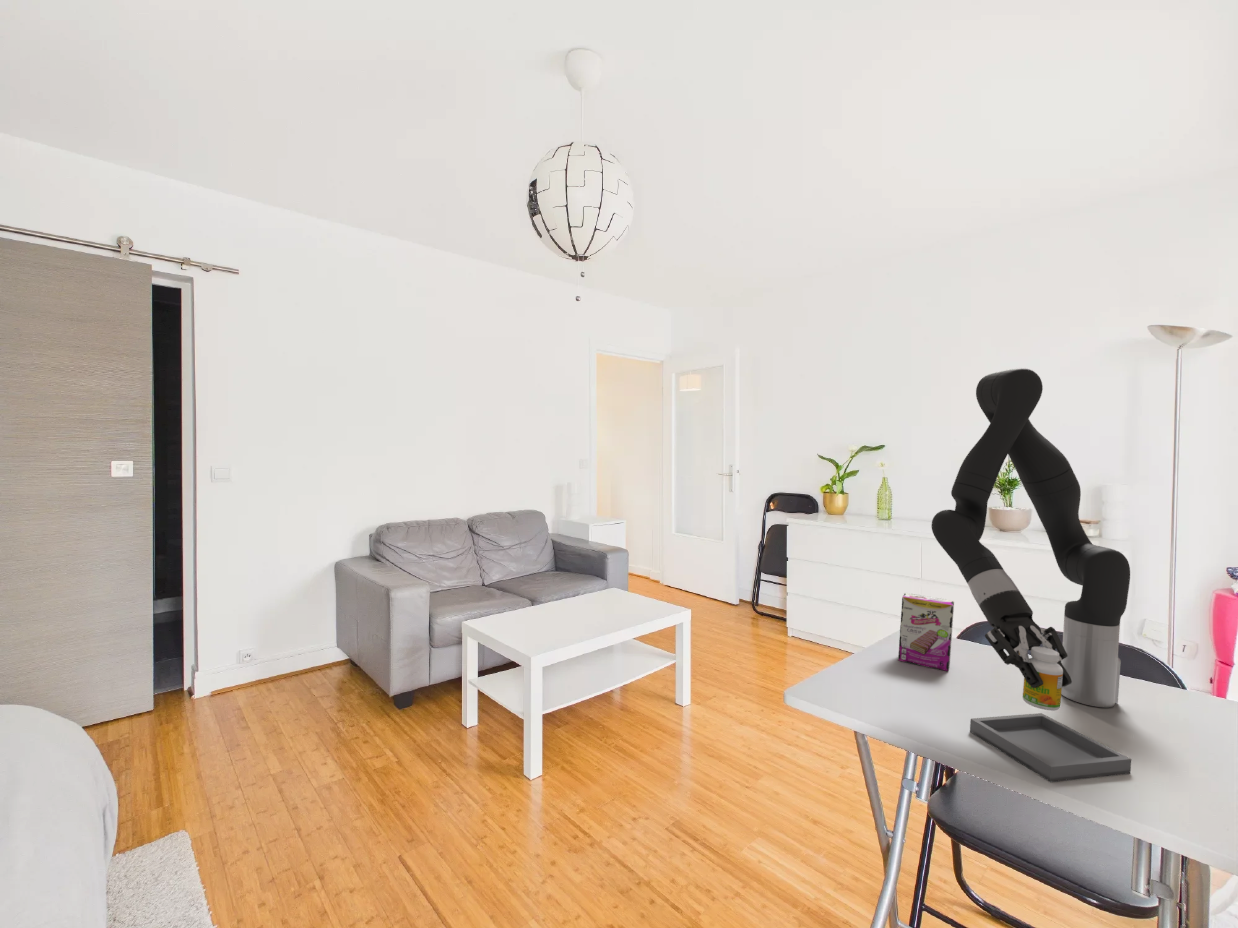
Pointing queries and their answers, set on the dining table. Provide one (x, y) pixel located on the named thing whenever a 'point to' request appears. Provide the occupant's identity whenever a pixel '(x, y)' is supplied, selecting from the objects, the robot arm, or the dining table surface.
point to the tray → (1050, 747)
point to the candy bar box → (926, 631)
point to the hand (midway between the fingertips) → (1052, 685)
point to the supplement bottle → (1045, 680)
